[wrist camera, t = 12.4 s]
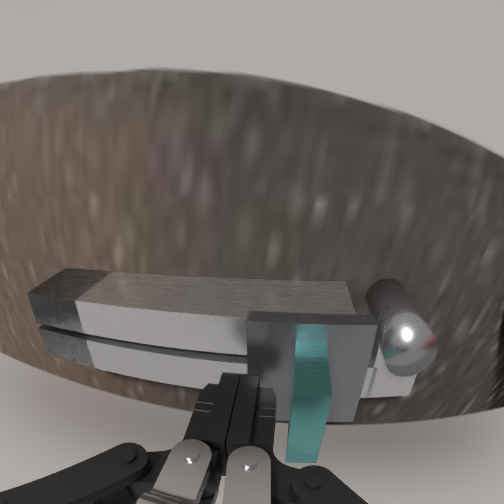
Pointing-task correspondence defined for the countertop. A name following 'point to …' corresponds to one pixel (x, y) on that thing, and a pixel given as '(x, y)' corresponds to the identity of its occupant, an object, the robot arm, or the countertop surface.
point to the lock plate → (310, 370)
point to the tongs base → (214, 364)
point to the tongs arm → (176, 306)
